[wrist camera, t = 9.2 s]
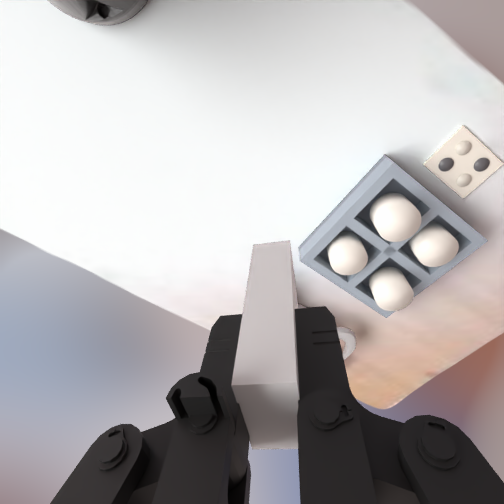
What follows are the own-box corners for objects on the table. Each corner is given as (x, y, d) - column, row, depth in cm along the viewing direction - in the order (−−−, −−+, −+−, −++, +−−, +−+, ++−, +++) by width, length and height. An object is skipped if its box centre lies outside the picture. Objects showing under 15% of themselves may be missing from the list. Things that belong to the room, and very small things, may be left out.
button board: (298, 247, 49) (299, 260, 46) (384, 154, 41) (394, 162, 38) (379, 302, 54) (386, 318, 50) (472, 227, 45) (488, 240, 42)
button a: (399, 240, 46) (409, 253, 43) (428, 214, 44) (441, 226, 40) (423, 258, 47) (434, 273, 44) (453, 234, 45) (467, 247, 41)
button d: (319, 249, 48) (322, 262, 44) (343, 224, 45) (348, 237, 42) (344, 266, 49) (349, 281, 46) (368, 243, 47) (375, 257, 43)
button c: (361, 214, 42) (368, 227, 39) (390, 184, 40) (400, 195, 37) (388, 234, 44) (397, 249, 40) (418, 207, 41) (430, 219, 38)
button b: (361, 283, 48) (367, 299, 45) (387, 260, 46) (395, 276, 42) (385, 299, 49) (393, 316, 46) (411, 278, 47) (421, 294, 44)
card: (422, 164, 41) (424, 165, 41) (462, 125, 39) (464, 126, 38) (462, 198, 43) (463, 199, 43) (502, 163, 40) (504, 164, 40)
